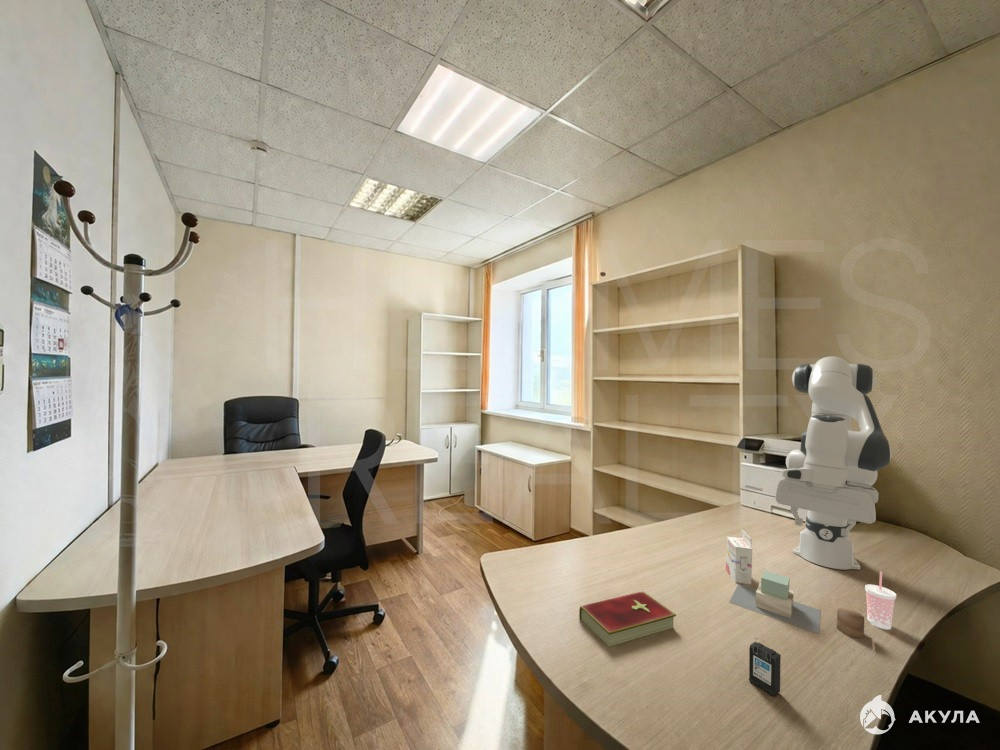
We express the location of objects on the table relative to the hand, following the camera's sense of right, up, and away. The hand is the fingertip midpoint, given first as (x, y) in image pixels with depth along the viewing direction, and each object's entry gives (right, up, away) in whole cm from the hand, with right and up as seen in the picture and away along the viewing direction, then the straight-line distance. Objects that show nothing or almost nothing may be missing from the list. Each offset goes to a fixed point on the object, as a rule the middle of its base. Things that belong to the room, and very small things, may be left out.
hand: (821, 530), depth 104 cm
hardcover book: (-51, -24, -1) cm, 56 cm away
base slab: (-6, -25, +9) cm, 27 cm away
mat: (-6, -25, +9) cm, 27 cm away
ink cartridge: (-29, -25, -21) cm, 43 cm away
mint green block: (-6, -21, +9) cm, 23 cm away
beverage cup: (+18, -26, +3) cm, 32 cm away
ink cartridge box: (-7, -25, +25) cm, 36 cm away
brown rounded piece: (+6, -26, -2) cm, 26 cm away
